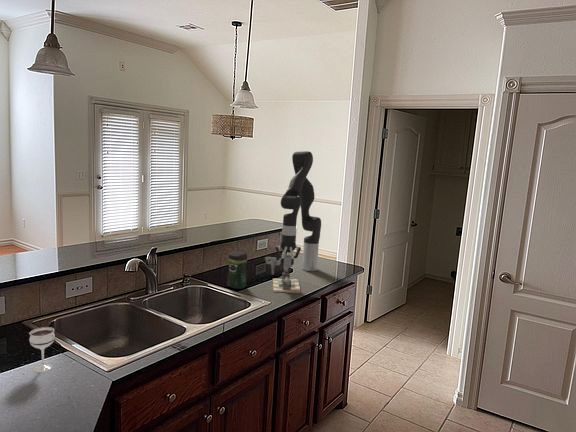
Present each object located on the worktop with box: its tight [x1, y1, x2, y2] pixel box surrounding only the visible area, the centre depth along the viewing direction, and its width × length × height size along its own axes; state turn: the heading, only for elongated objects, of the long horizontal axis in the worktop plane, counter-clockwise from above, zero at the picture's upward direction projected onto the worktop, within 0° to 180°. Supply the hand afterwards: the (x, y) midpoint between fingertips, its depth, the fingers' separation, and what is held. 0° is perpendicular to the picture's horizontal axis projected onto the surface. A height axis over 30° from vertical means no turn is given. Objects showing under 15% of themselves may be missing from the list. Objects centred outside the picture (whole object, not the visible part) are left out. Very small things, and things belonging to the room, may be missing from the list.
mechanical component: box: [264, 256, 282, 276], centre depth 242 cm, size 3×10×10 cm, turn 78°
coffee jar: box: [226, 250, 248, 290], centre depth 216 cm, size 10×8×19 cm
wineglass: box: [28, 326, 56, 373], centre depth 128 cm, size 7×7×12 cm
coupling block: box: [283, 253, 292, 269], centre depth 221 cm, size 4×4×7 cm
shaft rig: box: [272, 268, 301, 294], centre depth 222 cm, size 29×14×9 cm, turn 3°
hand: (287, 265), depth 221 cm, fingers closed on coupling block, 4 cm apart
